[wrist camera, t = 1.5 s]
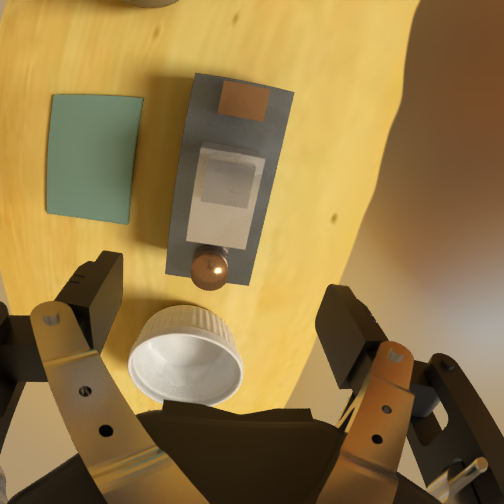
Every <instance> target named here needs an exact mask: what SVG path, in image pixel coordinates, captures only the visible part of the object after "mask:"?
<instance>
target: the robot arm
mask: <svg viewBox="0 0 504 504" xmlns="http://www.w3.org/2000/svg"><path fill="white" fill-rule="evenodd" d="M122 295H123V254H122V253H117V252H111V251H105V250H104V251H102V253H101V254H100V255H99V257H98V258H97V260H96V261H95V262H92V261H88V262H86V263H84V264H83V265H81V266H79V267H78V269H77V270H76V271H75V272H74V274H73V276H72V277H71V278H70V279H69V282H67V283H66V285H65V286H64V287H63V289H62V290H61V292H60V293H59V294H58V296H57V297H56V299H55V300H54V301H48V302H44V303H41V304H39V305H37V306H36V307H35V308H34V309H33V310H32V312H31V314H30V315H28V316H16V315H9V313H8V309H7V307H6V305H5V304H4V303H2V302H0V453H1V450H2V447H3V443H4V440H5V437H6V434H7V431H8V428H9V426H10V422H11V420H12V417H13V414H14V412H15V409H16V406H17V404H18V401H19V399H20V396H21V393H22V391H23V389H24V386H25V384H26V382H49V385H50V388H51V391H52V393H53V396H54V399H55V401H56V404H57V406H58V409H59V411H60V414H61V416H62V419H63V421H64V423H65V425H66V428H67V430H68V432H69V434H70V436H71V439H72V441H73V443H74V445H75V447H76V449H77V451H78V453H77V454H76V455H75V456H73V457H72V458H70V459H69V460H67V461H66V462H64V463H63V464H61V465H60V466H58V467H57V468H56V469H54V470H52V471H51V472H49V473H48V474H46V475H45V476H43V477H42V478H40V479H39V480H37V481H36V482H34V483H32V484H31V485H29V486H28V487H26V488H25V489H23V490H22V491H20V492H18V493H17V494H15V495H14V496H13V497H12V498H11V499H10V500H9V501H8V499H7V496H6V478H5V474H4V472H3V470H2V468H1V467H0V504H504V437H503V435H502V434H501V432H500V430H499V428H498V426H497V425H496V423H495V421H494V420H493V418H492V416H491V415H490V413H489V411H488V410H487V408H486V406H485V405H484V403H483V402H482V400H481V398H480V397H479V395H478V394H477V392H476V390H475V389H474V387H473V386H472V384H471V383H470V381H469V380H468V378H467V377H466V375H465V374H464V372H463V371H462V369H461V368H460V366H459V365H458V363H457V362H456V361H455V360H454V359H452V358H451V357H449V356H447V355H445V354H442V353H436V354H434V355H433V356H432V357H431V359H430V360H429V362H428V363H424V362H421V361H416V360H414V357H413V355H412V353H411V352H410V351H409V350H408V349H407V348H406V347H405V346H403V345H402V344H399V343H397V342H394V341H389V340H388V338H387V337H386V335H385V334H384V332H383V331H382V329H381V328H380V326H379V325H378V323H376V320H375V318H374V317H373V316H372V314H371V312H370V311H369V309H368V308H367V307H366V306H365V305H364V304H363V303H362V302H360V301H359V300H358V299H356V297H355V295H354V294H353V292H352V291H351V289H350V288H349V287H348V286H342V285H335V284H330V285H329V286H328V287H327V289H326V292H325V294H324V297H323V300H322V302H321V305H320V308H319V310H318V313H317V315H316V320H315V329H316V332H317V334H318V337H319V339H320V342H321V344H322V346H323V349H324V352H325V354H326V357H327V359H328V362H329V364H330V367H331V369H332V371H333V374H334V377H335V379H336V382H337V385H338V387H339V389H352V390H353V392H352V393H351V395H350V397H349V398H348V400H347V403H346V405H345V407H344V409H343V411H342V413H341V415H340V417H339V419H338V421H337V423H336V425H335V426H333V425H331V424H328V423H326V422H323V421H320V420H316V419H313V417H312V414H311V410H310V408H308V409H272V410H266V411H261V412H255V413H250V414H243V415H240V414H235V413H231V412H227V411H224V410H220V409H217V408H213V407H210V406H206V405H203V404H197V403H188V402H180V401H173V400H166V399H164V400H163V408H162V410H153V411H147V412H144V413H140V414H137V415H135V414H134V413H133V411H132V409H131V408H130V406H129V405H128V403H127V402H126V400H125V398H124V397H123V395H122V394H121V392H120V390H119V389H118V387H117V385H116V384H115V382H114V380H113V378H112V377H111V375H110V373H109V371H108V370H107V368H106V366H105V364H104V362H103V361H102V359H101V357H100V354H101V351H102V349H103V346H104V344H105V341H106V339H107V336H108V334H109V331H110V329H111V326H112V324H113V321H114V319H115V316H116V314H117V312H118V309H119V307H120V304H121V301H122ZM440 401H441V403H442V404H443V406H444V408H445V410H446V412H447V414H448V424H447V426H446V427H445V428H444V430H443V431H442V429H441V427H440V425H439V423H438V421H437V419H436V417H435V415H434V413H433V409H434V408H435V407H436V406H437V405H438V403H439V402H440ZM406 436H407V439H408V441H409V444H410V446H411V449H412V451H413V454H414V456H415V458H416V461H417V464H418V467H419V469H420V472H421V475H422V477H423V480H424V482H425V485H426V488H427V492H426V491H425V490H423V489H422V488H420V487H419V486H417V485H416V484H415V483H413V482H412V481H410V480H409V479H407V478H406V477H404V476H403V475H401V474H400V473H399V472H397V469H398V465H399V462H400V458H401V454H402V451H403V447H404V443H405V439H406Z"/></svg>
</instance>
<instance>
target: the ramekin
mask: <svg viewBox="0 0 504 504" xmlns="http://www.w3.org/2000/svg"><path fill="white" fill-rule="evenodd" d="M127 366H128V372H129V376H130V378H131V380H132V381H133V383H134V384H135V386H136V387H137V388H138V389H139V390H140V391H141V392H142V393H144V394H145V395H146V396H148V397H149V398H151V399H153V400H155V401H157V402H159V403H161V404H163V400H164V399H166V400H173V401H180V402H188V403H197V404H203V405H206V406H210V407H211V406H214V405H217V404H220V403H222V402H224V401H225V400H227V399H229V398H230V397H231V396H232V395H234V393H236V391H237V390H238V389H239V387H240V385H241V383H242V380H243V362H242V359H241V356H240V354H239V353H238V351H237V348H236V344H235V341H234V337H233V334H232V332H231V331H230V329H229V327H228V326H227V325H226V323H225V322H224V321H223V320H222V319H221V318H220V317H218V316H217V315H216V314H214V313H212V312H211V311H208V310H206V309H204V308H200V307H196V306H190V305H177V306H171V307H168V308H165V309H162V310H161V311H158V312H157V313H155V314H154V315H153V316H152V317H150V318H149V319H148V321H147V322H146V324H145V325H144V327H143V329H142V331H141V333H140V334H139V336H138V339H137V341H136V342H135V343H134V345H133V346H132V348H131V350H130V353H129V358H128V364H127Z"/></svg>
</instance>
